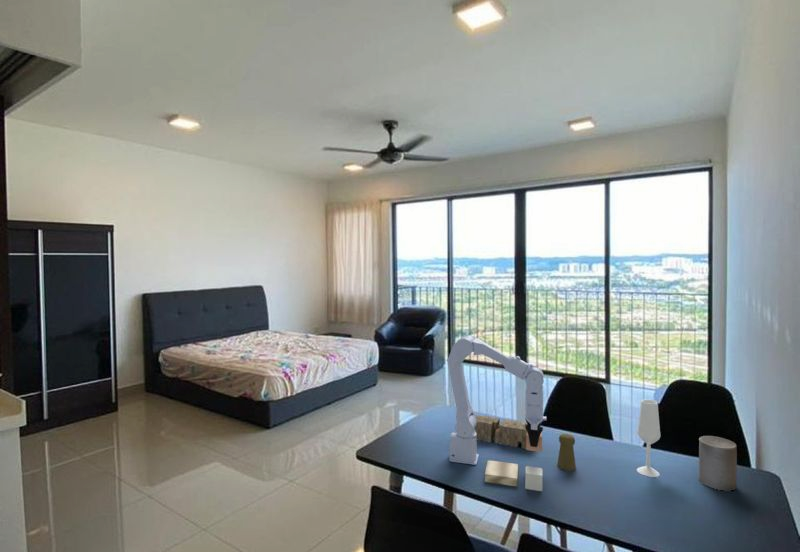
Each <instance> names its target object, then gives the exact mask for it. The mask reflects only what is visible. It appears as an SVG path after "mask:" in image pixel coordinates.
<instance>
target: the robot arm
mask: <svg viewBox="0 0 800 552" xmlns="http://www.w3.org/2000/svg"><path fill="white" fill-rule="evenodd" d="M470 355H473V356H479V355H483V356H485V357H487V358H489V359H491V360H493V361H495V362H498V363H499V364H501V365H503V367H504V369H505V371H506V372H508V373H510V374H511V375H513V376H515V377H517V378H519V379H521V381H522V380H524V381H525V383H526V388H525V405H524V406H525V407H524V408H525V409H524V411H525V413H524V419H525V423H527V424H525V428H526V430H527V432H528V436H529V442H530V446H531V447H537V445H538V441H539V437H540V434H541V432H542V433H543V430H544V427H543V426H541V425H542V423H543V421H547V420H548V419H547V416H546V415H545V416H544V385H543V384H544V381H545V379H544V378H545V377H544V376H545V375H544V372H543V370H542V369H541V368H539V366H537V365H533V364H532V363H527V362H525V361H524V360H522V359H521V357H520V356H519V355H516V356H515V355H511V356H508V355H506V354H505V353H503V352H501V351H500V350H498V349H496V348H494V347H493V346H491V345H489V344H488V343H486V342H485V341H483V340H482V339H480V338H478V337H474V336H473V335H471V334H465V335H463V336H461V338H459V339H458V340H457V341H455V343H454V344H453V345H452V346H451V351H450V353H449V355H448V358H447V365H448V370H449V371H448V372H449V377H450V381H451V388H452V392H453V393H452V394H453V399H454V404H455V408H456V411H455V414H456V415H455V419H456V424H455V432H451V433H450V436H449V437H450V438H449V462H453V463H458V464H459V463H460V464H466V465H473V466H476V465H477V463H478V460H479V457H480V454H479V453H478V452H477V450H478V449H477V447H478V446H477V443H478V442H477V441H478V440H477V433H476V431H475V429H474V428H475V427H476V425H477V418H476V416H475V415H476V414H475V415H474V409H473V408H472V406H471V402H470V399H469V393H468V388H467V382H466V377H465V372H464V366H463V362H464V361H465V360H466V358H468V357H469V356H470Z"/></svg>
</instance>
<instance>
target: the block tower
mask: <svg viewBox="0 0 800 552" xmlns="http://www.w3.org/2000/svg"><path fill="white" fill-rule="evenodd" d="M474 415H475V416H476V418H477V425H476V427H475V428H474V429H475V431H476V433H477V439H478V440H477V441H481V440H483V441H482V442H487V441H488V443H492V441H494V444H497V443H501V444H500V445H503V444H507V445H506V446H508V445H510V446H509V447H513V446H514V448H518V447H519V446H518V445H520V444H519V443H521V449H523V448H524V449H525V450H526V435H527V430H526V428H525V424H527V422H526V421H525V422H523V421H518V420H510V419H505V418H503V419H502V420H501V419H500V418H499V417H495V416H494V417H493V416H489V415H479V414H474ZM500 420H501V421H500Z"/></svg>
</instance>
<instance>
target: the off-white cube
mask: <svg viewBox="0 0 800 552" xmlns="http://www.w3.org/2000/svg"><path fill="white" fill-rule="evenodd" d="M524 476H525V482H524V483H525V486H524V487H525V488H524V489H525V490H531V491H537V492H538V491H539V492H543V468H542V467H537V466H530V465H526V466H525V475H524Z"/></svg>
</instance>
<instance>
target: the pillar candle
mask: <svg viewBox="0 0 800 552" xmlns="http://www.w3.org/2000/svg"><path fill="white" fill-rule="evenodd" d="M698 441H699V444H698V445H699V446H698V481H699V480H700V481H699V482H700V483H701V485H704V486H706V487H709V488H711V489H713V488H714V489H713V490H716V489H718V490H717V491H720V490H724V491H723V492H732V491H731V490H734V491H736V490H737V488H738V487H737V486H738V484H737V483H738V482H737V481H738V480H737V478H738V477H737V476H738V475H737V471H738V470H737V469H738V467H737V466H738V464H737V463H738V461H737V460H738V458H737V456H738V451H737V450H738V449H737V447H738V446H737V444H736V443H735V442H734V441H732V440H730V439H726V438H724V437H720V436H714V435H703V436H700V437H699V438H698ZM735 489H736V490H735Z"/></svg>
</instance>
